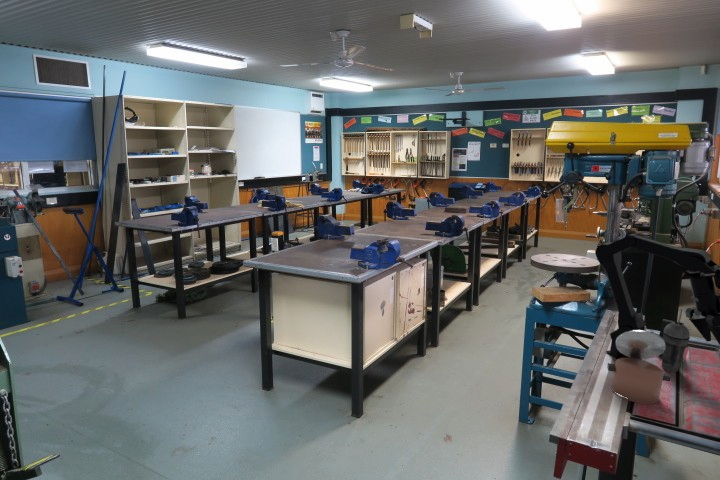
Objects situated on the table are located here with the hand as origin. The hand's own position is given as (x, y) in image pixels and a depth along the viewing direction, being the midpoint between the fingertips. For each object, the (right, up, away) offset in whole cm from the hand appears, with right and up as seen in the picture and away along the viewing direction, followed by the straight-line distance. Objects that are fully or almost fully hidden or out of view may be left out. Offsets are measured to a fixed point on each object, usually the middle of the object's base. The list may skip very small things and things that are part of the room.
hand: (716, 344), depth 141 cm
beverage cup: (-5, -11, +13) cm, 18 cm away
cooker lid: (-24, 0, -3) cm, 25 cm away
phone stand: (+1, -9, +24) cm, 25 cm away
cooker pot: (-26, -13, -3) cm, 29 cm away
